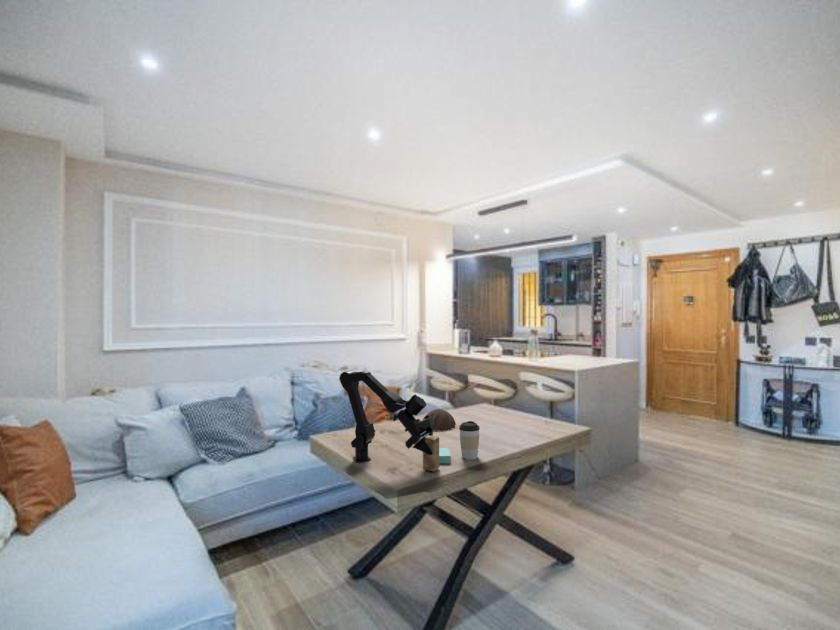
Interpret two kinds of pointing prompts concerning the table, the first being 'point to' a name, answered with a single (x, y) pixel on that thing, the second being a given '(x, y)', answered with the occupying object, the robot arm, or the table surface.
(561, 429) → the table surface
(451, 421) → the decorative dome
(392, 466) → the table surface
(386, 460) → the table surface
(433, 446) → the block
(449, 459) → the base
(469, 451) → the coffee cup
